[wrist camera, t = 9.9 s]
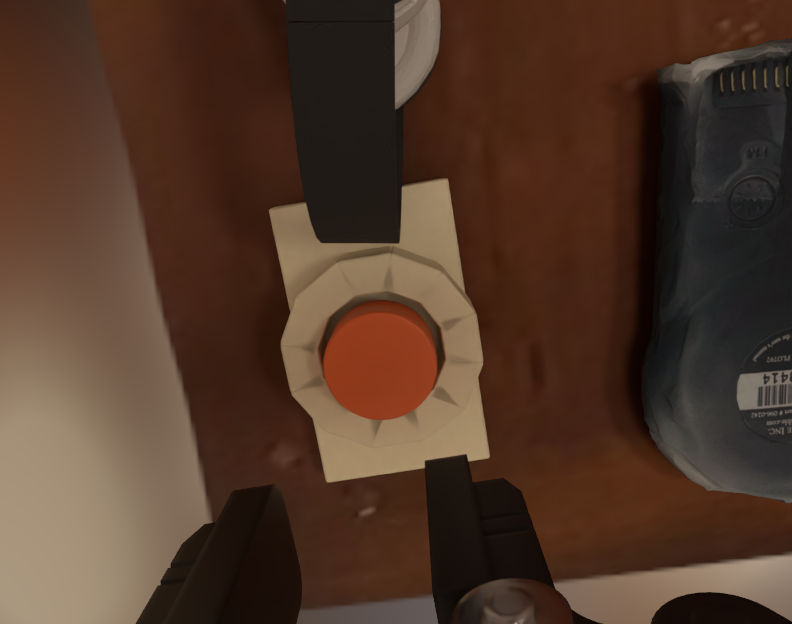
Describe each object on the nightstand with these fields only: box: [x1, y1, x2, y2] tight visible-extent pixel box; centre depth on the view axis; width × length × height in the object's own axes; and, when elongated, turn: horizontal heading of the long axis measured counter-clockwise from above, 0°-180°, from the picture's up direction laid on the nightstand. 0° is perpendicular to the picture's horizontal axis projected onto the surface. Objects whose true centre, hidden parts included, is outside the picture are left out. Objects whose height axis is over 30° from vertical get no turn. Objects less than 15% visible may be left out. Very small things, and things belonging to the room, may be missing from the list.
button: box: [323, 300, 437, 420], centre depth 21 cm, size 3×3×2 cm
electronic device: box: [641, 39, 792, 503], centre depth 22 cm, size 9×6×15 cm
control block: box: [269, 177, 490, 482], centre depth 23 cm, size 10×6×3 cm, turn 10°
